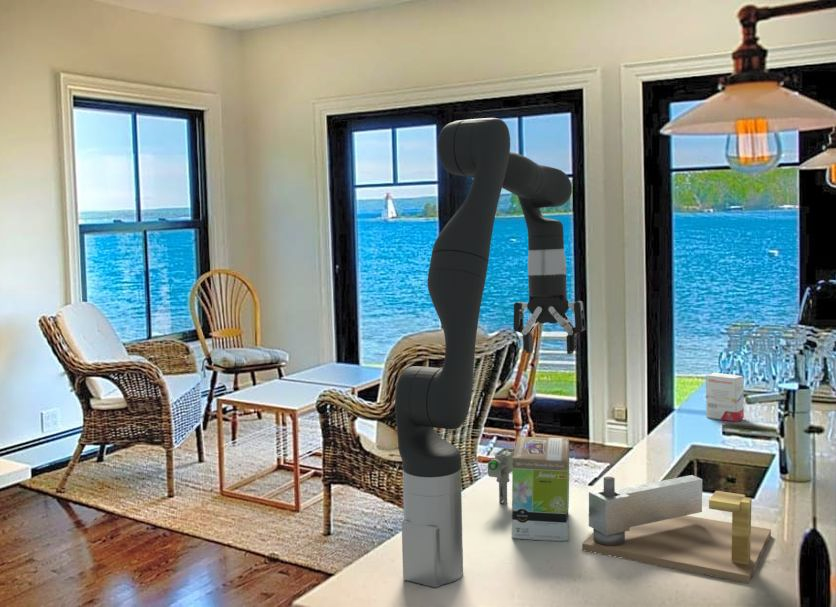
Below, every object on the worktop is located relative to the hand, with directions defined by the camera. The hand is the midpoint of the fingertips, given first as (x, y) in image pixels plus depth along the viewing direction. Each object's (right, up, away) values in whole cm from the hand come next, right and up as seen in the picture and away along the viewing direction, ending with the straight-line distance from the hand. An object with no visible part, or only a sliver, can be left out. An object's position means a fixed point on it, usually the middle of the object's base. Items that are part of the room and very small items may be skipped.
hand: (549, 353), depth 168 cm
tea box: (-4, -31, -15) cm, 35 cm away
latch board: (+18, -31, -25) cm, 44 cm away
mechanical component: (-10, -30, -4) cm, 31 cm away
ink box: (+56, -21, +57) cm, 83 cm away
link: (+14, -27, -23) cm, 38 cm away
